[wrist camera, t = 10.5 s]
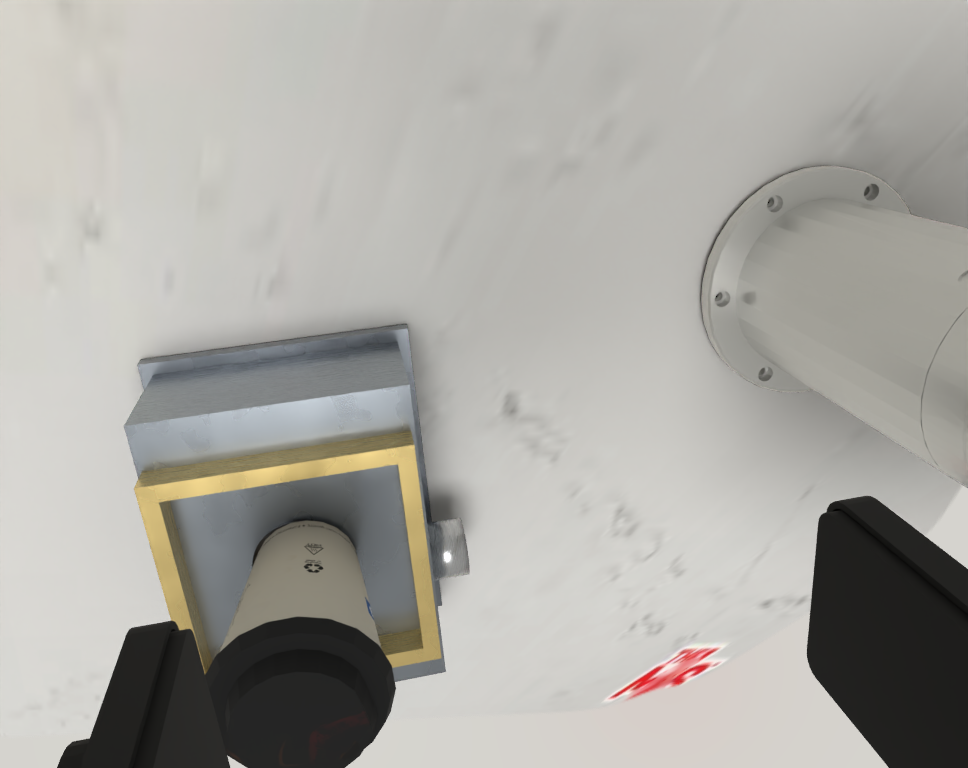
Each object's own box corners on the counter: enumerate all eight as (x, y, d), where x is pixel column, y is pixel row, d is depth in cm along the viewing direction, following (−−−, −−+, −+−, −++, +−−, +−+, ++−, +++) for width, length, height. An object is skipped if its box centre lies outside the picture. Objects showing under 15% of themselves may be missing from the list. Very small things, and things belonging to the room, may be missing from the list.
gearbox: (140, 359, 39) (95, 430, 31) (433, 320, 41) (458, 377, 33) (213, 638, 46) (191, 754, 38) (463, 592, 48) (490, 693, 40)
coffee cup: (198, 582, 36) (151, 756, 27) (287, 469, 35) (270, 611, 26) (325, 647, 39) (322, 827, 29) (413, 544, 37) (438, 698, 28)
